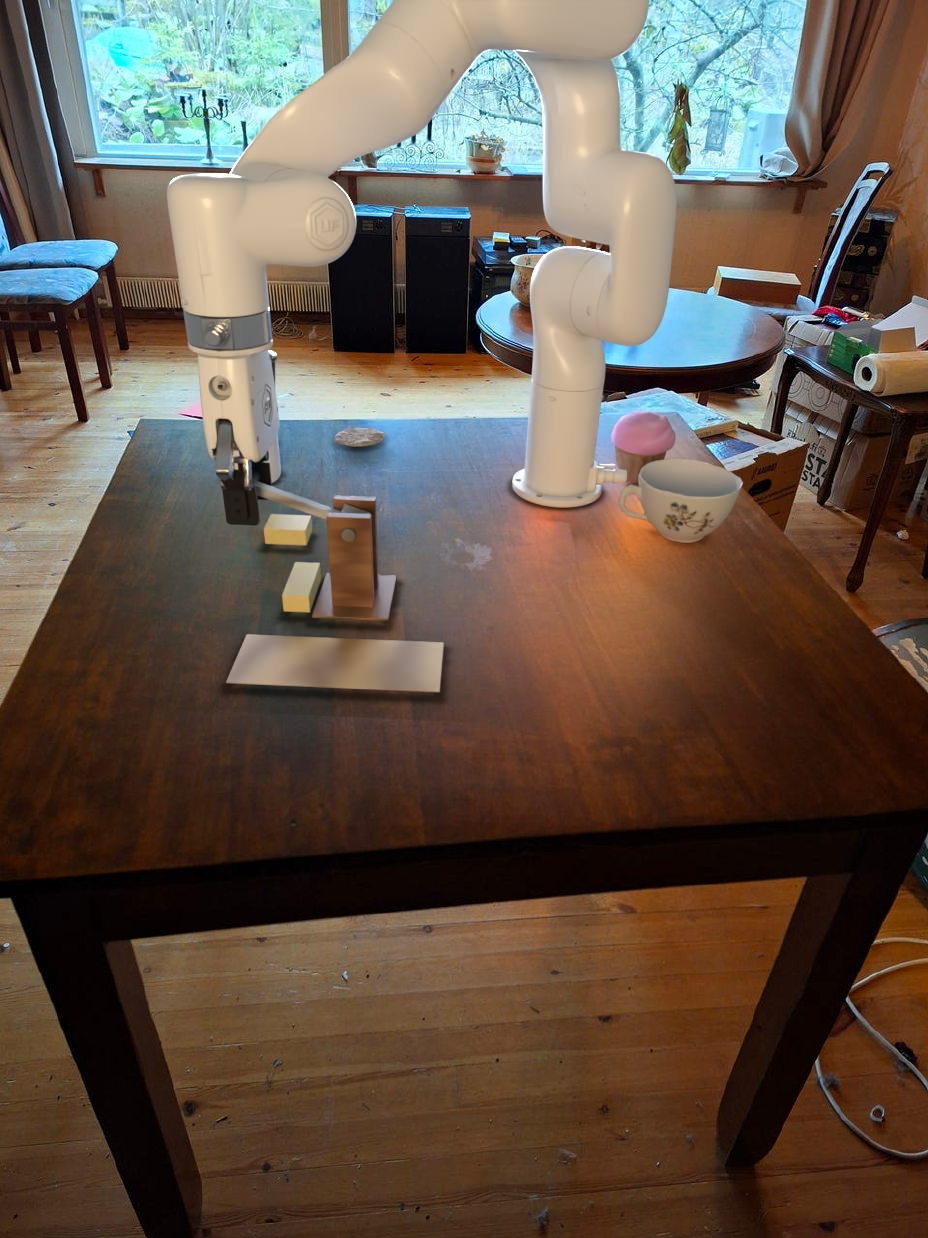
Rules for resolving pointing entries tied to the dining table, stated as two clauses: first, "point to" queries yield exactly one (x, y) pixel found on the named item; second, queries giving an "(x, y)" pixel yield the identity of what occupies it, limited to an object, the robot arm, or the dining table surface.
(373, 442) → the flatbread
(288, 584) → the butter stick
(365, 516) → the wooden stand
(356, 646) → the serving board
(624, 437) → the cupcake
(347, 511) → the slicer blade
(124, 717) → the dining table surface
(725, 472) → the teacup
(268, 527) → the butter pat
